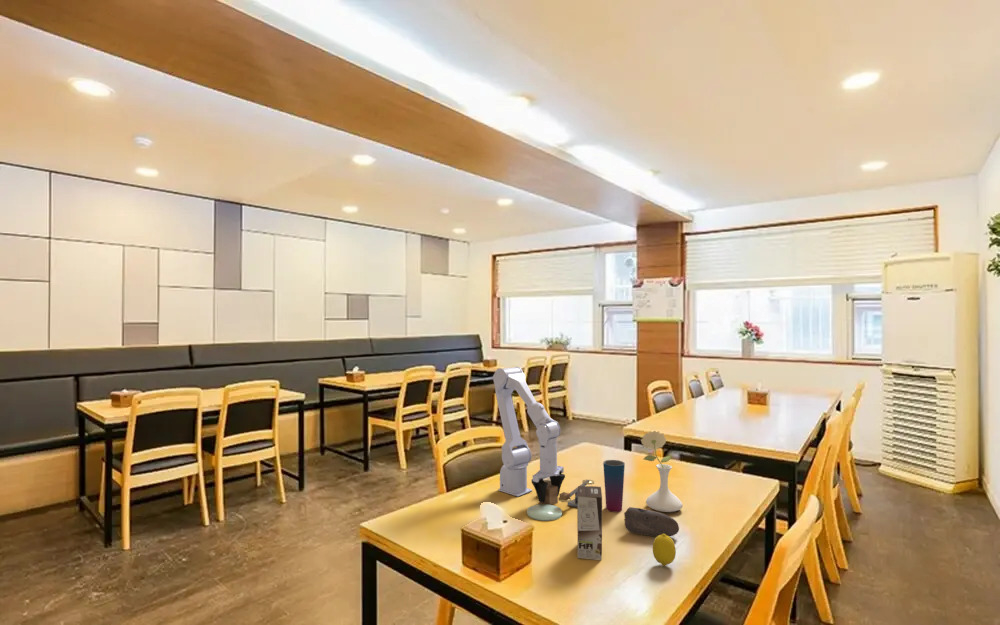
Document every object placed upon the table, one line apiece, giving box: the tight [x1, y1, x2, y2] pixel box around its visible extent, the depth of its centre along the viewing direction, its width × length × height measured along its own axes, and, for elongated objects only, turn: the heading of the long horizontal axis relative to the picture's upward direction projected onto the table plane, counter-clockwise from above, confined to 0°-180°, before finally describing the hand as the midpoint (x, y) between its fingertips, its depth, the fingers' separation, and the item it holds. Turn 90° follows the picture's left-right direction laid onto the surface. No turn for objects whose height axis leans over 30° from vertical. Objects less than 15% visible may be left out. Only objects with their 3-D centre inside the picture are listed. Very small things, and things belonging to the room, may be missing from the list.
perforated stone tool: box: [623, 506, 680, 537], centre depth 148 cm, size 15×5×7 cm, turn 69°
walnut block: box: [538, 484, 559, 506], centre depth 173 cm, size 4×4×6 cm
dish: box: [526, 503, 563, 522], centre depth 164 cm, size 11×11×1 cm
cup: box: [602, 459, 626, 513], centre depth 168 cm, size 7×7×15 cm
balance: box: [558, 479, 595, 509], centre depth 172 cm, size 4×18×6 cm, turn 137°
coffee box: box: [576, 485, 603, 561], centre depth 138 cm, size 9×6×16 cm
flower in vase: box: [640, 430, 684, 513], centre depth 168 cm, size 13×11×25 cm
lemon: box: [652, 534, 677, 567], centre depth 130 cm, size 6×6×8 cm
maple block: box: [543, 477, 551, 484], centre depth 182 cm, size 4×4×6 cm
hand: (548, 498), depth 173 cm, fingers open, 7 cm apart
